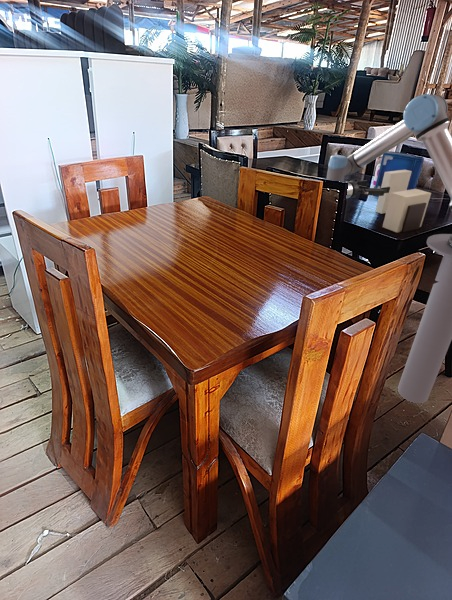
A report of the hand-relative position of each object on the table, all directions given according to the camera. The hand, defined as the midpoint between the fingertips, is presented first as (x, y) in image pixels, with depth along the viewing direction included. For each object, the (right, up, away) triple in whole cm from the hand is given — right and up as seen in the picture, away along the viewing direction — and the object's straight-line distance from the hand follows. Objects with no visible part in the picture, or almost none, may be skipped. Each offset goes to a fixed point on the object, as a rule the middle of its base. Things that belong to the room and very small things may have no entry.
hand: (377, 186), depth 195 cm
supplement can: (+21, +13, +52) cm, 58 cm away
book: (+22, +2, +34) cm, 41 cm away
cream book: (+11, -9, +14) cm, 20 cm away
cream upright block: (+8, -22, -9) cm, 25 cm away
